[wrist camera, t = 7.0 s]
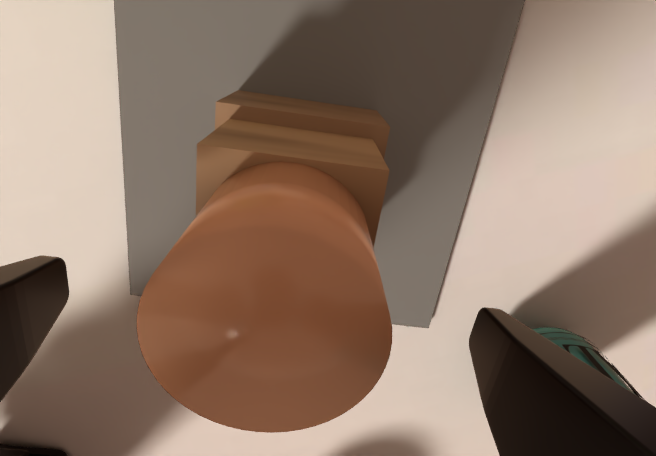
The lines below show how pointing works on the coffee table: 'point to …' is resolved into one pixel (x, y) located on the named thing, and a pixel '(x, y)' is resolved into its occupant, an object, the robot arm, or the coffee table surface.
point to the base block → (303, 115)
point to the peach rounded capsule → (269, 304)
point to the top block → (293, 160)
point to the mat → (321, 86)
